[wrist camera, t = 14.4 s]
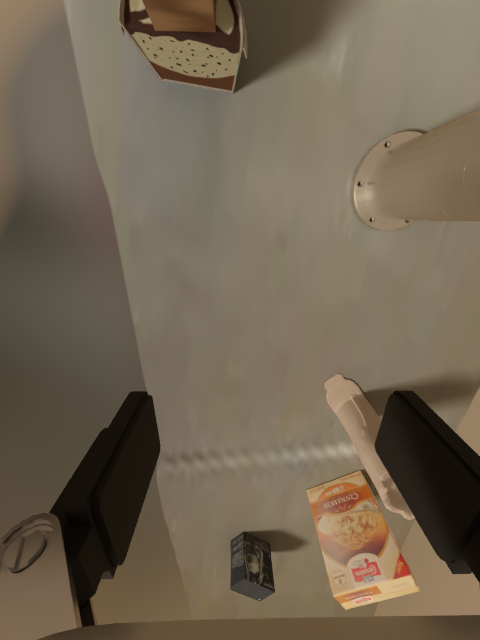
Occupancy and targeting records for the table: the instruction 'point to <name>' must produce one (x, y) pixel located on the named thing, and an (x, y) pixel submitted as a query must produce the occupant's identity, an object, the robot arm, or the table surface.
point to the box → (251, 567)
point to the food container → (190, 46)
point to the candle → (364, 437)
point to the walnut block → (182, 15)
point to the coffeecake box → (358, 543)
